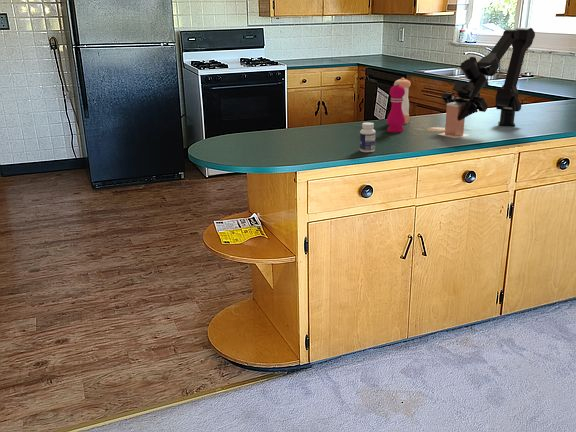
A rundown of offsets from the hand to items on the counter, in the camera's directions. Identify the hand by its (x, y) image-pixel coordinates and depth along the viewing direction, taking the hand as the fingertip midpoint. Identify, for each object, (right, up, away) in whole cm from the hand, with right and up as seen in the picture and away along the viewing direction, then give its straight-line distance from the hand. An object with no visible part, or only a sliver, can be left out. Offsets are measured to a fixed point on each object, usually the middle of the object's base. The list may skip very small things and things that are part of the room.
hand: (452, 119), depth 227 cm
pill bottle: (-36, -15, -19) cm, 43 cm away
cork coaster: (-2, -3, +12) cm, 12 cm away
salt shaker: (-15, +3, +30) cm, 33 cm away
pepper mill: (-20, -3, +12) cm, 24 cm away
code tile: (+1, -6, +3) cm, 7 cm away
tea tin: (+1, -6, +3) cm, 6 cm away
